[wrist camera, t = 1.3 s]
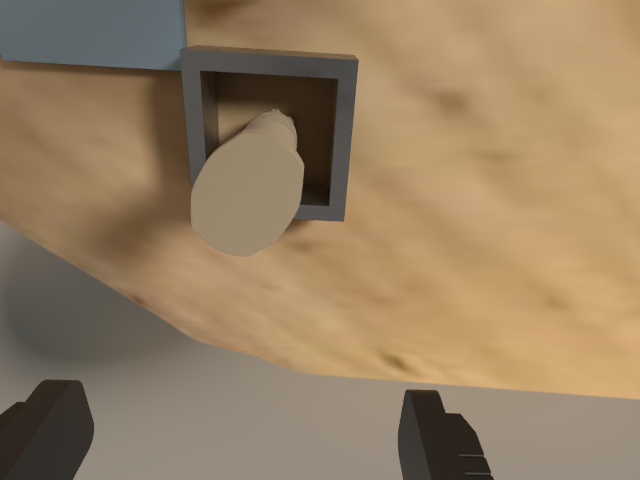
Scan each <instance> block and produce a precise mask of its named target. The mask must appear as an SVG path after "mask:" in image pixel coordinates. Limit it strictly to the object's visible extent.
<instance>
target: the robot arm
mask: <svg viewBox="0 0 640 480" xmlns="http://www.w3.org/2000/svg"><path fill="white" fill-rule="evenodd" d="M93 434H94V422H93V419H92V415H91V412H90V408H89V405H88V402H87V398H86V395H85V391H84V388H83V385H82V383H81V382H80V381H78V380H44V381H42V382H41V383H40V384H39V385H38V386H37V387H36V389H35V390H34V391H33V392H32V394H31V395H30V396H29V398H28V399H27V400H26V402H17V403H15V404H14V405H13V406H11V407H10V408H9V409H7V410H6V411H5V412H3V413H2V414H1V415H0V480H73V478H74V476H75V474H76V472H77V471H78V469H79V467H80V465H81V463H82V461H83V459H84V458H85V456H86V454H87V452H88V450H89V448H90V446H91V443H92V439H93ZM398 450H399V451H398V452H399V458H400V464H401V469H402V475H403V480H494V479H493V477H492V476H491V471H490V468H489V466H488V463H487V461H486V458H484V453H483V450H482V448H481V445H480V442H479V440H478V437H477V435H476V432H475V431H474V430H473V429H472V427H471V426H470V425H469V424H468V422H467V421H466V420H465V419H464V418H463V417H462V415H461V414H454V413H445V410H444V407H443V404H442V401H441V397H440V395H439V393H438V391H436V390H406V391H405V395H404V401H403V407H402V412H401V419H400V424H399V430H398Z"/></svg>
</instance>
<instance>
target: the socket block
mask: <svg viewBox="0 0 640 480" xmlns="http://www.w3.org/2000/svg"><path fill="white" fill-rule="evenodd" d="M179 51H180V62H181V74H182V86H183V97H184V109H185V120H186V132H187V143H188V155H189V166H190V178H191V190H192V189H193V187H194V184H195V182H196V180H197V178H198V176H199V174H200V172H201V170H202V168H203V166H204V164H205V163H206V161H207V160H208V158H209V157H210V155H211V154H212V153H213V152H214V151H215V150H216V149H217V148H218V147H219V130H218V110H217V91H216V72H215V71H217V72H234V73H250V74H267V75H284V76H300V77H317V78H333V79H336V81H335V96H334V110H333V125H332V139H331V154H330V168H329V183H328V186H327V185H308V184H303V186H302V195H301V201H300V205H299V208H298V210H297V212H296V214H295V216H294V217H293V219H304V220H323V221H342V222H344V215H345V204H346V193H347V182H348V171H349V160H350V149H351V138H352V127H353V116H354V104H355V93H356V82H357V71H358V59H357V58H356V57H355V56H354V55H345V54H329V53H312V52H296V51H280V50H264V49H248V48H231V47H215V46H199V45H197V46H192V47H187V48H182V49H179Z"/></svg>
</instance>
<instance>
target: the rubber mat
mask: <svg viewBox="0 0 640 480" xmlns="http://www.w3.org/2000/svg"><path fill="white" fill-rule="evenodd" d="M182 48H187V44H186V32H185V19H184V6H183V0H0V53H1V57H2V60H8V61H25V62H41V63H58V64H74V65H91V66H108V67H124V68H141V69H157V70H174V71H181V62H180V51H179V49H182Z"/></svg>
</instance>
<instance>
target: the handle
mask: <svg viewBox="0 0 640 480" xmlns="http://www.w3.org/2000/svg"><path fill="white" fill-rule="evenodd" d="M296 149H297V134H296V130H295V127H294V121H293V119H292V118H291V117H290V116H286V115H284V114H282V113H281V112H280V110H279V109H272V110H271V111H268V112H264V113H261V114H259V115H258V116H256V117H255V118H254V119H252V120H251V121H250V122H249V123H248V125H247V126H246V127H245V128H244V130H243V131H241V132H240V133H238V134H237V135H235V136H234V137H232V138H230V139H229V140H228V141H226V142H225V143H223V144H222V145H221V146H219V147H218V148H217V149H216V150H215V151H214V152H213V153H212V154H211V155H210V157H209V158H208V160H207V161H206V163H205V164H204V166H203V168H202V170H201V172H200V174H199V176H198V178H197V180H196V182H195V184H194V187H193V189H192V194H191V226H192V228H193V229H194V231H195V232H196V233H197V235H198V236H199V237H200V238H201V239H202V240H203V241H205V242H206V243H207V244H209V245H210V246H212V247H214V248H215V249H217V250H219V251H222V252H224V253H226V254H230V255H234V256H242V257H244V256H251V255H253V254H255V253H257V252H258V251H260V250H262V249H264V248H265V247H267V246H269V245H270V244H272V243H273V242H274V241H276V240H277V239H278V238H279V237H280V236H281V235H282V234H283V232H284V231H285V230H286V228H287V227H288V225H289V223H290V222H291V220H292V219H293V217H294V216H295V214H296V212H297V210H298V208H299V205H300V201H301V195H302V186H303V176H304V164H303V162H302V159H301V157H300V156H299V154H298V153H297V151H296Z"/></svg>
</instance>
